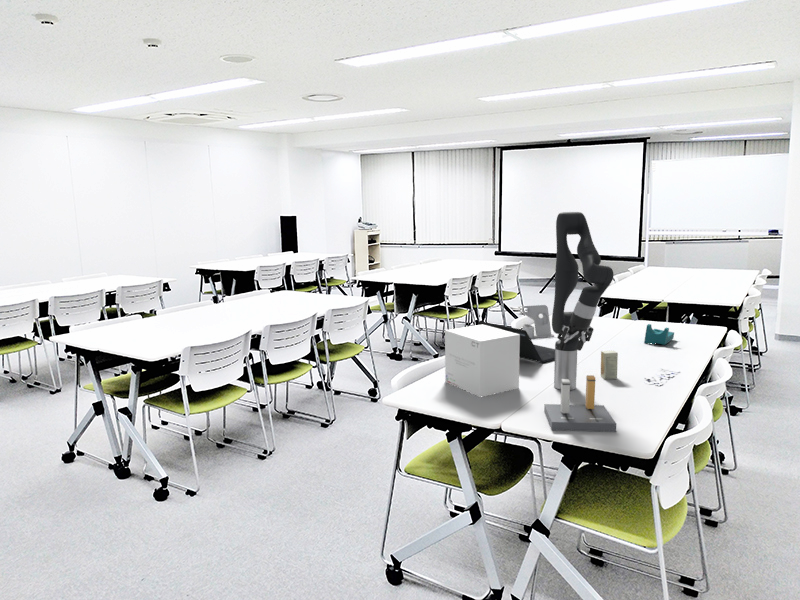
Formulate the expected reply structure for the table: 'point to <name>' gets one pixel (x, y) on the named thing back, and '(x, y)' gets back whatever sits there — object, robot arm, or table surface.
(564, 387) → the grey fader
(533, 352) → the laptop
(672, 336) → the teal cradle stand
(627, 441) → the table surface
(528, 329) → the phone holder
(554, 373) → the robot arm
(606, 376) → the skincare box
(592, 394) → the amber fader
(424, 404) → the table surface
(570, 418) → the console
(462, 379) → the cube
